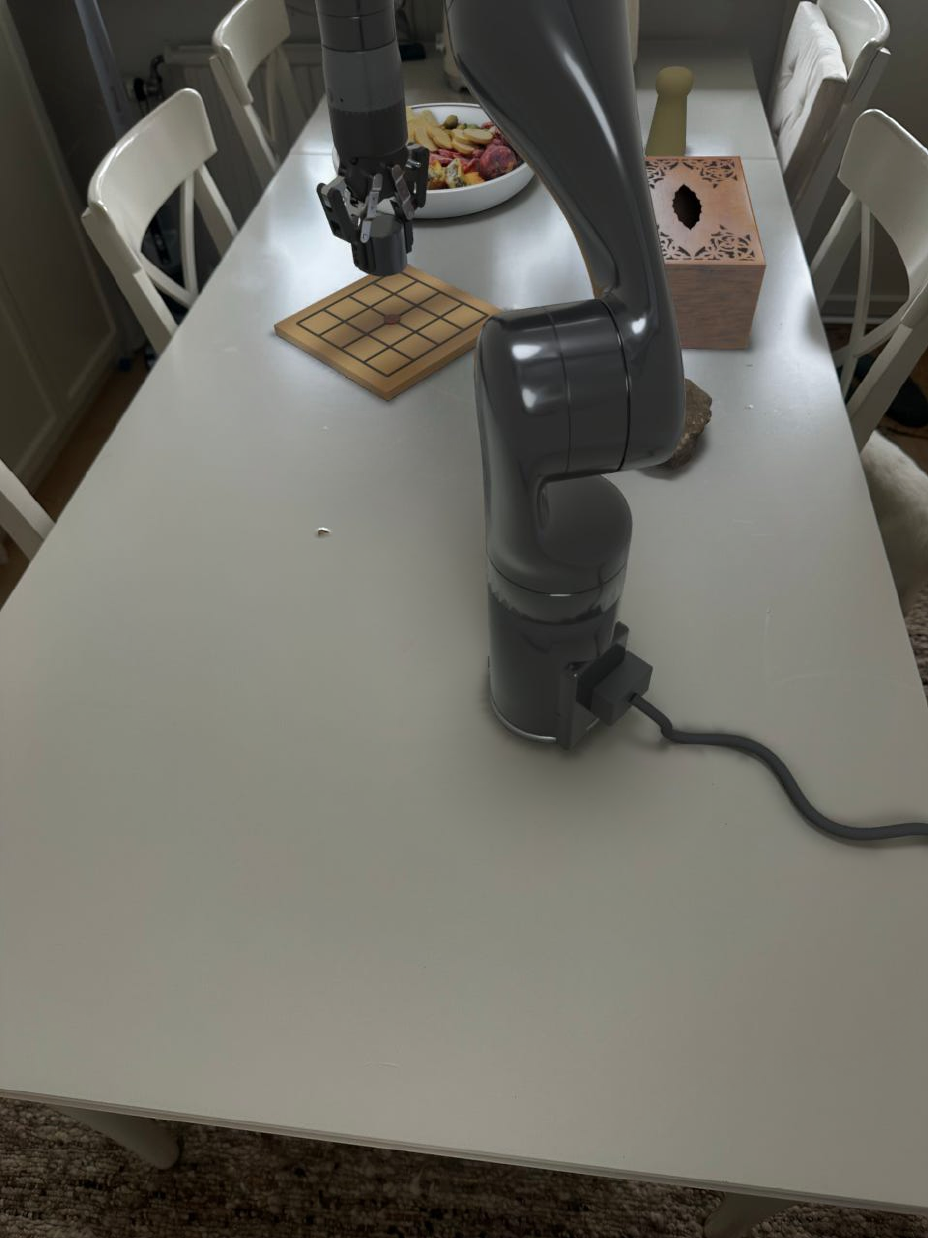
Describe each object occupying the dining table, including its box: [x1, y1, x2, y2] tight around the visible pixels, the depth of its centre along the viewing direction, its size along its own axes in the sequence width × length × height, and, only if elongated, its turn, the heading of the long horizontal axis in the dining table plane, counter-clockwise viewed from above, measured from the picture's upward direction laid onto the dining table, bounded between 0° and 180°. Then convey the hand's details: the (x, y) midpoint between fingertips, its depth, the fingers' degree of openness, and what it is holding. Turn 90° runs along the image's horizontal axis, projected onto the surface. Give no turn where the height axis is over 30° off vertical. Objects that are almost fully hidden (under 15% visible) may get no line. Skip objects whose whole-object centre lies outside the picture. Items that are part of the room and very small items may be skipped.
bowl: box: [331, 102, 535, 219], centre depth 124 cm, size 30×30×8 cm
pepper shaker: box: [644, 65, 694, 157], centre depth 125 cm, size 6×6×11 cm
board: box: [273, 263, 506, 402], centre depth 102 cm, size 20×20×1 cm
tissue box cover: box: [644, 155, 767, 350], centre depth 102 cm, size 26×14×10 cm, turn 175°
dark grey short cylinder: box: [358, 214, 409, 277], centre depth 95 cm, size 5×5×4 cm
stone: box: [653, 377, 713, 470], centre depth 86 cm, size 10×14×6 cm
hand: (385, 259), depth 96 cm, fingers closed on dark grey short cylinder, 5 cm apart
